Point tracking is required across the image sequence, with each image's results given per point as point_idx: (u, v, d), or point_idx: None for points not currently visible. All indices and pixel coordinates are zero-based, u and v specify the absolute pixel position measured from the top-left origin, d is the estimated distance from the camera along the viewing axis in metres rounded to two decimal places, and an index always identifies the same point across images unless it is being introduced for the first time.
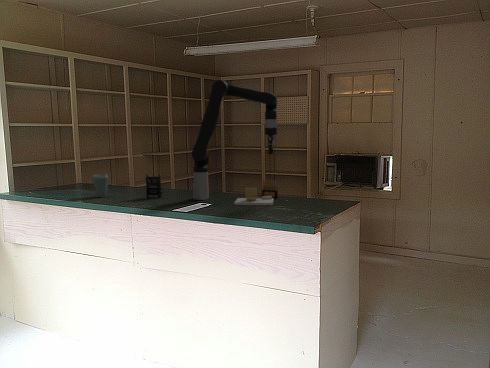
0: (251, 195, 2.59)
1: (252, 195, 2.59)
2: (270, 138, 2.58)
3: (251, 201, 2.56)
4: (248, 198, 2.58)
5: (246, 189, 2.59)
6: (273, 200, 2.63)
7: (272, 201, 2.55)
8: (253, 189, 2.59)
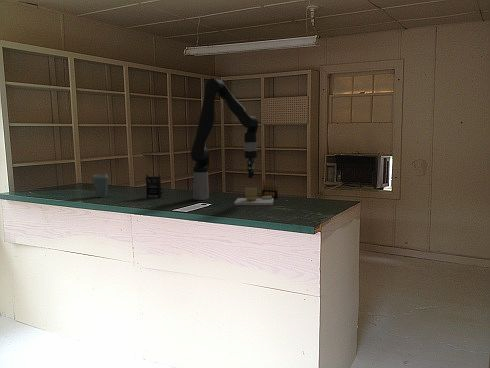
0: (251, 195, 2.59)
1: (252, 195, 2.59)
2: (249, 162, 2.51)
3: (251, 201, 2.56)
4: (248, 198, 2.58)
5: (246, 189, 2.59)
6: (273, 200, 2.63)
7: (272, 201, 2.55)
8: (253, 189, 2.59)
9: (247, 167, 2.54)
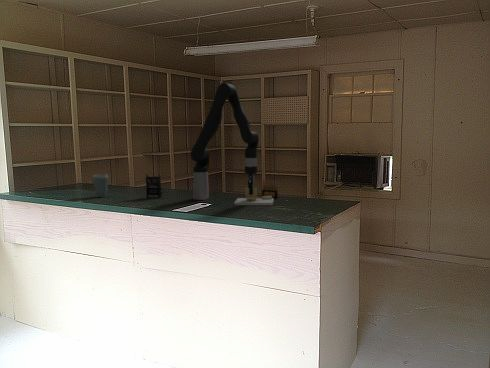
0: (251, 195, 2.59)
1: (252, 195, 2.59)
2: (250, 181, 2.53)
3: (251, 201, 2.56)
4: (248, 198, 2.58)
5: (246, 189, 2.59)
6: (273, 200, 2.63)
7: (272, 201, 2.55)
8: (253, 189, 2.59)
9: (248, 184, 2.57)
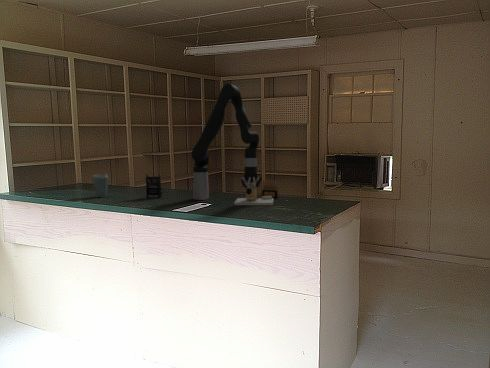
0: (250, 195, 2.59)
1: (251, 195, 2.59)
2: (240, 180, 2.57)
3: (251, 201, 2.56)
4: (246, 198, 2.59)
5: None
6: (273, 200, 2.63)
7: (272, 201, 2.55)
8: (252, 189, 2.58)
9: (246, 183, 2.60)
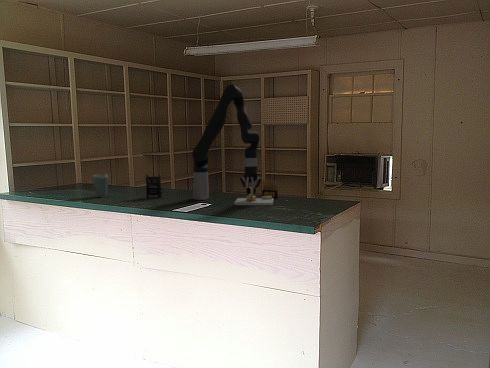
0: (249, 195, 2.60)
1: (250, 195, 2.59)
2: None
3: (251, 201, 2.56)
4: None
5: (249, 189, 2.62)
6: (273, 200, 2.63)
7: (272, 201, 2.55)
8: (250, 189, 2.58)
9: None
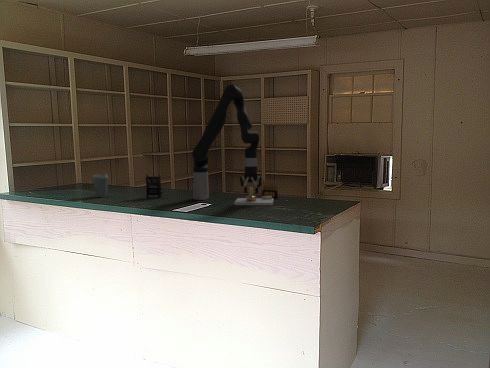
0: None
1: None
2: None
3: (251, 201, 2.56)
4: None
5: None
6: (273, 200, 2.63)
7: (272, 201, 2.55)
8: None
9: None
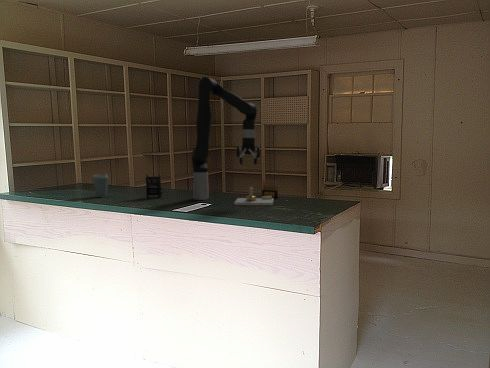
0: None
1: None
2: None
3: (251, 201, 2.56)
4: None
5: None
6: (273, 200, 2.63)
7: (272, 201, 2.55)
8: None
9: None
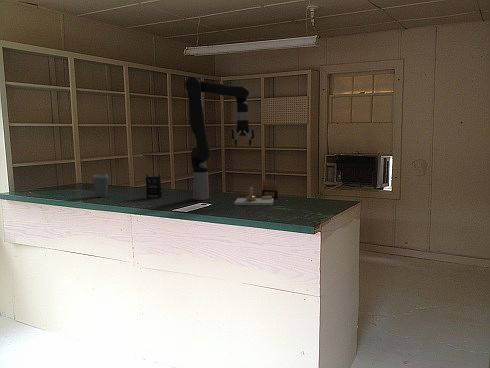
0: None
1: None
2: (232, 130, 2.75)
3: (251, 201, 2.56)
4: None
5: None
6: (273, 200, 2.63)
7: (272, 201, 2.55)
8: None
9: None
